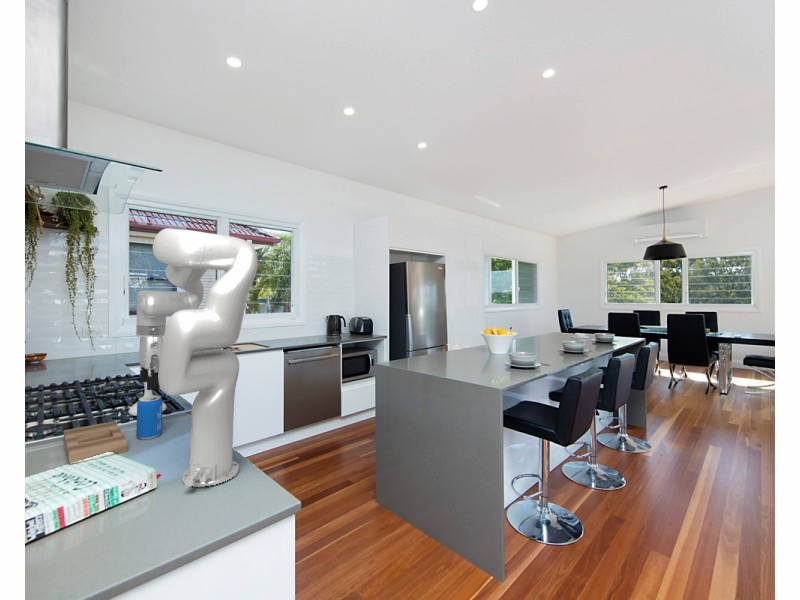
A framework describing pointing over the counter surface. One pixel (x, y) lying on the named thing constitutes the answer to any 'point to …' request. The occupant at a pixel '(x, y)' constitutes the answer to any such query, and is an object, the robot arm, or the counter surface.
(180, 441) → the counter surface
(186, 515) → the counter surface
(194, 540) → the counter surface
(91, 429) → the block
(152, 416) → the beverage can
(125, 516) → the counter surface
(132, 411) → the flower in vase
